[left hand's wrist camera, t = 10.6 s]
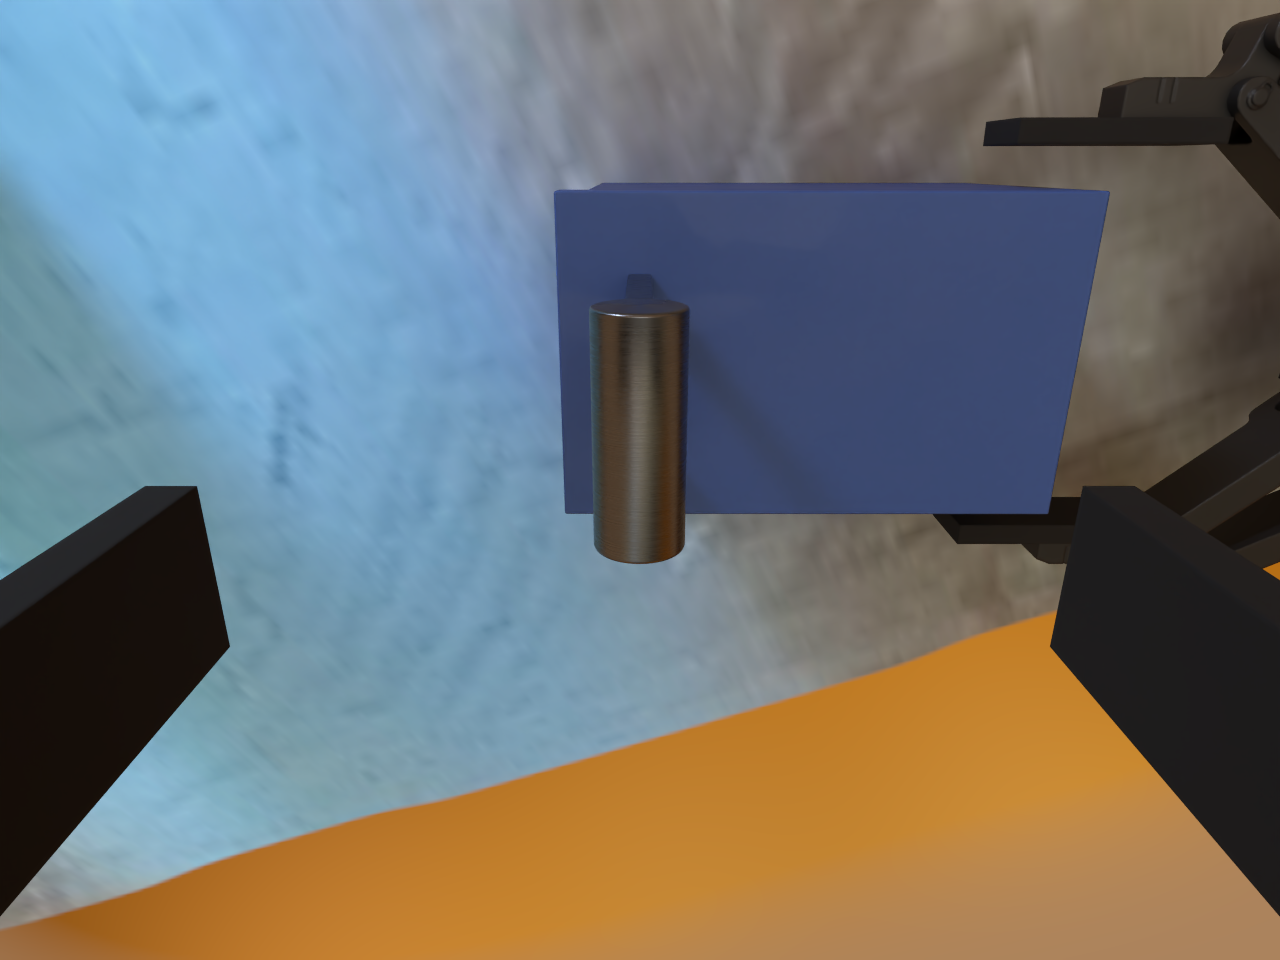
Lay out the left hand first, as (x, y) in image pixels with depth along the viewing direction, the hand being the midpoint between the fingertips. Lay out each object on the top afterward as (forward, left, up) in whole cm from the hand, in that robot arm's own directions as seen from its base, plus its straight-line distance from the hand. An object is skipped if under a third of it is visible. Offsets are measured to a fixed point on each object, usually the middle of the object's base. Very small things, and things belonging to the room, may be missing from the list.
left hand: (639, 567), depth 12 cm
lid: (+5, 0, -15) cm, 16 cm away
